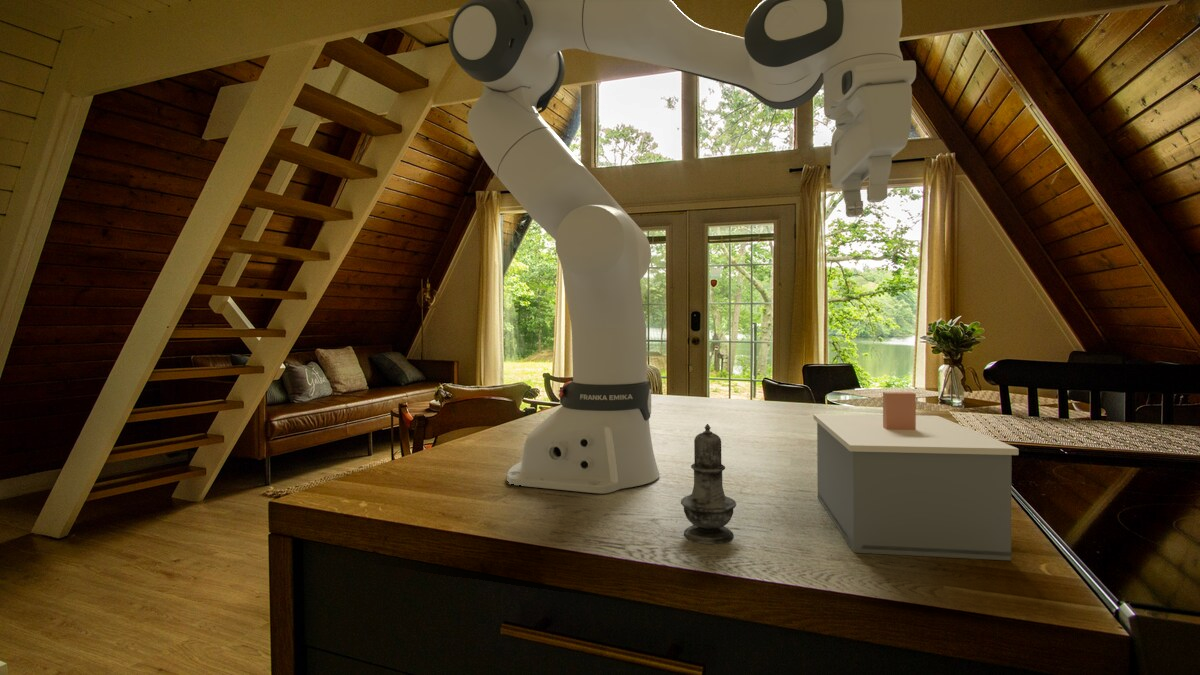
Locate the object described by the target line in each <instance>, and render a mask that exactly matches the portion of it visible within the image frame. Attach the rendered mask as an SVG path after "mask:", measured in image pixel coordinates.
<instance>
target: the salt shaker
mask: <svg viewBox="0 0 1200 675" xmlns="http://www.w3.org/2000/svg"><path fill="white" fill-rule="evenodd" d="M704 429H705V430H704V431H702V432H699V433H698V434H697V435H695V437H694V445H693V446H694V448H693V449H694V458H693V459H694V463H693V464H691V465H690V468H691V469H692V470H693V488H692V492H691V494H689V495H686V496H684V497H682V498H681V500H680V504H681V505H682V507H683V513H684V514H685V517H686V518H687V520H688V521H689V522H690V523H691V525H690V526H689V527H687V528H686V529H685V530H684V532H683V536H684V538H686V539H687V540H690V541H692V542H695V543H698V544H704V545H719V544H720V545H721V544H726V543H728V542H730V541H732V540H733V539H734V538H735V534H734V533H733V531H732V530H731V529H729V528H728V527H726V525H727V524H728V523H729V522H730V521H731V519H732V516H733V515H734V509H736V506H737V502H736V501H735V499H734V498H732V497H730V496H727V495H726V494H725V492H724V487H723V471H724V470H725V469H726V466H725V465H724V464H722V439H721V437H720V436H719V435H717V434H716V433H714V432H713V431H711V426H710V425H709V424H708V423H707V424H706V425H705V426H704Z"/></svg>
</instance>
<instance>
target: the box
mask: <svg viewBox="0 0 1200 675" xmlns="http://www.w3.org/2000/svg"><path fill="white" fill-rule="evenodd" d="M816 426H817V428H816V430H817V431H816V432H817V433H816V436H817V437H816V438H817V439H816V448H817V450H816V451H817V454H816V456H817V461H816V462H817V464H816V467H817V468H816V469H817V473H816V474H817V478H816V479H817V499H818V501H819V502H820V503H821V505H822V507H823V508H824V510H825V511H826V513H827V514H828V516H829V517H830V518H831V520H832V521H833V522H832V523H833V524H834V525H835V526H836V528H837V529H838V531H839V533H840V534H841V535H842V537H843V538H844V540H845V542H846V543H847V545H848V546H849V548H850V549H851V551H852V552H853V554H855V553H856V554H857V553H858V554H859V553H860V554H873V555H874V554H877V555H897V556H898V555H899V556H914V557H917V556H918V557H932V558H933V557H934V558H935V557H936V558H938V557H939V558H954V559H955V558H956V559H958V558H959V559H972V560H973V559H974V560H995V561H1012V466H1013V465H1012V462H1013V460H1012V456H1013V455H989V454H945V453H900V452H855V451H849V450H848V449H847V448H846V447H845V446H843V445H842V444H841V443H840V442H839V441H838V440H837V439H836V438H834V437H833V436H832V435H831V434H830V433H829V432H828V431H826V430H825V429H824V428H823V427H822V426H821V425H820V424H819V423H817V422H816Z"/></svg>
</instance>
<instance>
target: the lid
mask: <svg viewBox="0 0 1200 675" xmlns="http://www.w3.org/2000/svg"><path fill="white" fill-rule="evenodd" d="M916 396H917V394H916V393H915V392H912V391H908V392H907V391H883V392H882V401H883V402H882V414H837V413H836V414H833V413H832V414H830V413H829V414H825V413H824V414H822V413H817V414H816V413H814V414H813V415H812V417H813V420H814V421H815V422H816V424H817V423H819V424H820V425H821V426H822V427H823V428H824V429H825V430H826V431H828V432H829V433H830V434H831V435H832V436H833V437H834V438H836V439H837V440H838V441H839V442H840V443H841V444H842V445H843V446H845V447H846V448H847V449H848V450H849V451H855V452H900V453H945V454H989V455H1012V456H1019V453H1020V452H1019V448H1017V447H1015V446H1013V445H1010V444H1008V443H1005V442H1003V441H1001V440H998V439H995V438H994V437H990V436H988V435H986V434H983V433H981V432H979V431H976V430H974V429H971V428H970V427H969V428H968V427H966V426H963V425H962V424H959V423H956V422H955V421H952V420H949V419H947V418H944V417H941V416H939V415H920V414H918V415H917V414H916V412H917V410H916V408H917V407H916V406H917V405H916V404H917V401H916V400H917V397H916Z"/></svg>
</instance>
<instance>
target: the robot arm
mask: <svg viewBox="0 0 1200 675" xmlns="http://www.w3.org/2000/svg"><path fill="white" fill-rule="evenodd" d="M902 4H903V3H902V0H762V1H761V2H760V3H759V4H758V5H757V6H756V7H755V8H754V10H753V11H752V12H751V14H750V15H749V17H748V20H747V22H746V25H745V29H744V37H742V36H738V35H734V34H730V33H726V32H722V31H719V30H715V29H710V28H708V27H704V26H702V25H700V24H699V23H696V22H694V20H692V19H691V18H689V17H688V16H687V15H686V14H684V12H683V11H681V9H680V8H679V7H677V5H676V4H675V3H674V1H672V0H469V1H467V2H465V3H464V4H463V5H462V6H460V7H459V9H458V10H457V11H456V12H455V14H454V15H453V17H452V19H451V22H450V25H449V29H448V45H449V50H450V53H451V55H452V57H453V59H454V60H455V62H456V63H457V65H458V66H459V67H460V68H461V69H462V71H463V72H465V73H466V74H467V75H468V76H469V77H470V78H471V79H474V80H476V81H478V82H481V83H482V84H483V86H482V93H481V96H480V97H479V98H478V99H477V100H476V101H475V102H474V103H473V105H472V107H471V108H470V110H469V113H468V115H467V116H468V117H467V124H466V125H467V130H468V133H469V136H470V138H471V139H472V141H473V144H474V145H475V147H476V149H477V150H478V152H479V154H480V156H481V157H482V158H483V160H484V161H485V163H486V164H487V166H488V167H489V168H490V170H491V171H492V173H493V174H494V175H495V176H496V177H497V179H499V181H500V182H501V183H502V185H503V186H504V187H505V188H506V189H507V190H508V191H509V192H510V194H511V196H513V198H514V199H515V201H517V202H518V204H520V206H521V207H522V208H523V209H524V210H525V211H526V214H528V216H529V217H530V218H531V219H532V220H533V221H534V222H536V223H537V224H538V225H539V226H540V228H542V229H543V230H544V231H545V232H546V233H547V234H548V235H549V236H550V237H551V238H552V239H553V240H554V241H555V251H556V254H557V258H558V260H559V262H560V267H561V270H562V278H563V286H564V291H565V297H566V302H567V307H568V314H569V319H570V326H571V327H570V329H571V347H572V348H571V351H572V354H571V357H572V380H570V381H567V382H564V384H563V385H562V386H561V387H560V389H559V390H558V392H559V394H558V398H559V403H560V405H561V406H560V408H558V409H556V411H555V412H553V413H552V414H550V415H549V416H548V417H546V418H545V420H543V421H542V422H541V423H539V424H538V425H537V426H536V427H535V428H534V429H533V430H532V431H531V432H530V433H529V434H528V435H527V437H526V439H525V441H524V445H523V451H522V456H521V461H519V462H517V463H515V464H514V465H512V466H511V467H510V468H509V470H508V471H507V473H506V482H507V481H508V482H509V483H508V482H507V483H508V485H511V484H514V485H513V486H519V485H521V487H529V488H540V489H541V488H542V489H550V490H561V491H571V492H580V493H592V494H610V493H613V492H615V491H618V490H619V491H620V490H622V489H627V488H633V487H638V486H643V485H646V484H650V483H652V482H654V481H656V480H657V479H659V478H660V472H659V469H658V468H659V467H658V465H657V462H656V458H655V452H654V448H653V442H652V435H651V427H650V426H651V424H650V418H651V415H652V389H651V382H650V380H648V361H647V360H648V354H647V353H648V351H647V350H648V348H647V340H648V339H647V338H648V337H647V323H646V319H645V313H644V306H643V305H644V303H643V295H642V286H641V280H642V279H643V278H644V276H645V275H646V274H647V272H648V270H649V268H650V265H651V260H652V249H651V244H650V242H649V239H648V237H647V235H646V234H645V233H644V231H643V229H641V228H640V227H639V225H638V224H637V223H636V222H635V221H634V220H633V219H632V217H631V216H630V215H629V214H628V213H627V212H626V211H625V209H623V208H622V206H621V204H619V203H618V202H617V201H616V200H615V199H614V198H613V196H612V195H611V194H610V193H609V192H608V191H607V189H605V187H604V186H603V185H602V184H601V183H600V182H599V181H598V179H597V178H596V177H595V176H594V175H593V174H592V173H591V172H590V170H589V169H588V168H587V167H586V165H584V164H583V163H582V162H581V160H580V159H579V158H578V157H577V155H575V154H574V153H573V151H572V150H571V149H570V148H569V147H568V146H567V144H566V143H565V142H564V141H563V140H562V139H561V137H559V135H558V134H557V132H555V130H554V129H553V128H552V127H551V126H550V125H549V124H548V123H547V121H545V119H544V117H542V116H541V114H542V113H543V112H545V110H547V109H548V107H549V104H550V102H551V100H553V98H554V97H555V96H556V94H557V93H558V92H559V90H560V88H561V87H562V84H563V82H564V79H565V75H566V64H565V60H564V56H563V54H562V52H561V51H565V50H575V49H577V50H579V51H580V50H581V51H583V52H588V53H593V54H598V55H603V56H608V57H612V58H613V57H615V58H620V59H626V60H631V61H637V62H641V63H647V64H650V65H654V66H658V67H664V68H668V69H672V70H675V71H678V72H682V73H685V74H689V75H692V76H696V77H699V78H704V79H706V80H710V81H714V82H718V83H722V84H725V85H730V86H733V87H736V88H740V89H742V90H744V91H746V92H747V93H749V94H751V96H753V97H754V98H755V99H757V100H758V101H760V103H762V104H763V105H765V106H766V107H768V108H772V109H774V110H779V111H781V110H782V111H786V110H787V111H789V110H794V109H796V108H799V107H801V106H803V105H805V104H807V103H808V102H809V101H811V100H812V99H814V97H815V96H816V95H817V94H818V93H819V91H820V90H821V88H822V87H823V113H824V117H826V118H827V119H829V120H831V121H832V120H833V121H835V123H834V124H835V126H834V127H835V128H836V129H835V130H834V131H833V134H832V137H831V143H830V144H831V145H830V170H829V171H830V172H829V174H830V175H829V176H830V184H831V187H832V188H833V189H841V193H842V197H843V201H844V203H845V215H846V216H847V217H848V218H855V217H857V218H858V217H859V216H861V215H862V214H863V212H864V200H862V196H861V190H862V183H863V182H865V181H866V180H867V179H868V186H867V187H866V200H867V201H868V202H869V203H880V202H883V201H885V200H886V199H887V198H888V184H889V178H890V174H891V169H892V166H893V165H892V164H893V162H892V158H893V157H895V156H896V155H897V154H898V153H900V152H901V151H902V150H903V149H905V148H906V147H907V145H908V141H909V138H910V133H911V127H912V113H913V112H912V111H913V110H912V109H913V107H912V105H913V87H912V84H913V83H914V81H915V80H916V78H917V64H916V61H915V60H912V59H911V60H904V58H903V53H902V51H901V48H900V37H901V32H902V28H903V6H902ZM538 109H540V110H538Z"/></svg>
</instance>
